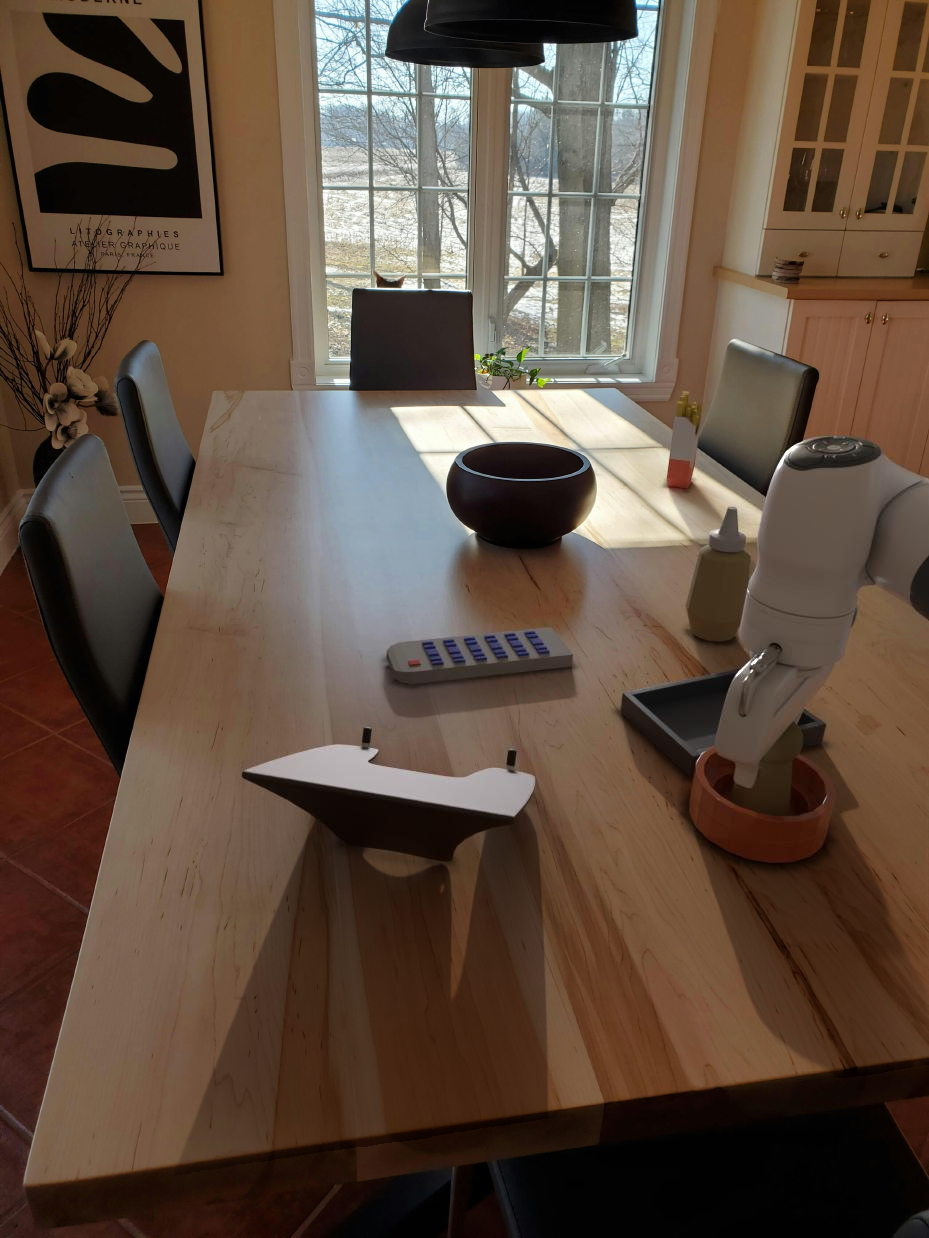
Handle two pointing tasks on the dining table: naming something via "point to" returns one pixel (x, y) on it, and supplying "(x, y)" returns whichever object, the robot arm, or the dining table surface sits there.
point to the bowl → (756, 830)
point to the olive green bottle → (772, 777)
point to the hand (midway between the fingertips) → (764, 759)
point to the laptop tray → (394, 798)
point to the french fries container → (684, 443)
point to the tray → (693, 716)
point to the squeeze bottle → (720, 583)
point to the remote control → (477, 655)
